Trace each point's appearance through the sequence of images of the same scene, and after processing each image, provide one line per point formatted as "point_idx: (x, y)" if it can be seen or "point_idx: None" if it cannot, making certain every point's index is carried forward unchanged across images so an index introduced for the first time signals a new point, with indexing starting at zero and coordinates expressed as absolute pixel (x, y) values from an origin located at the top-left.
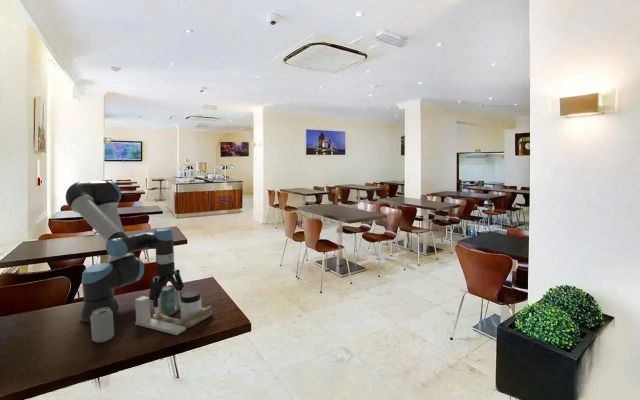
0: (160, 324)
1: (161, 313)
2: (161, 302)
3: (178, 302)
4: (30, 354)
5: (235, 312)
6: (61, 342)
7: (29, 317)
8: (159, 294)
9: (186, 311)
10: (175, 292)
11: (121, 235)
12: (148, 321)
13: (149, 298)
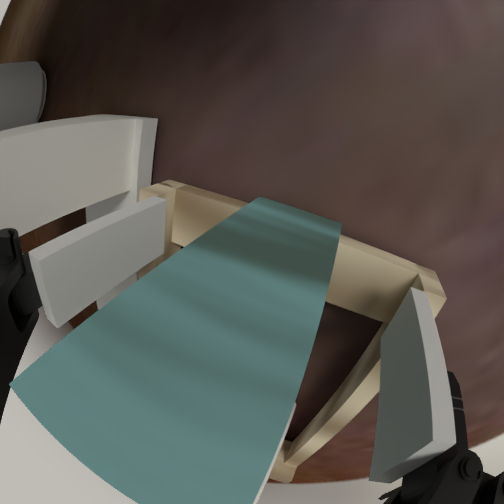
0: (113, 291)
1: (236, 208)
2: (190, 246)
3: (383, 346)
4: (9, 20)
5: (327, 480)
6: (30, 8)
7: None
8: (12, 362)
9: None
10: (411, 425)
11: None
12: (108, 198)
13: None
